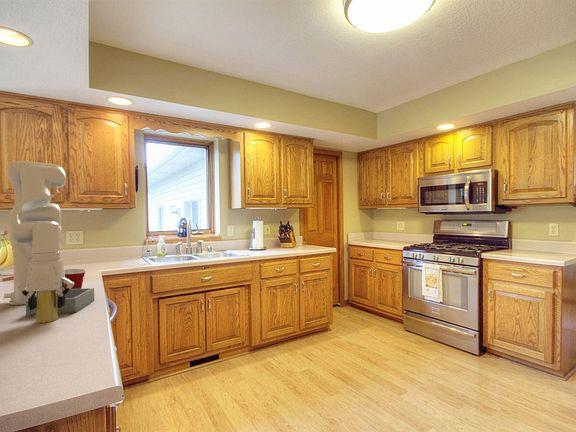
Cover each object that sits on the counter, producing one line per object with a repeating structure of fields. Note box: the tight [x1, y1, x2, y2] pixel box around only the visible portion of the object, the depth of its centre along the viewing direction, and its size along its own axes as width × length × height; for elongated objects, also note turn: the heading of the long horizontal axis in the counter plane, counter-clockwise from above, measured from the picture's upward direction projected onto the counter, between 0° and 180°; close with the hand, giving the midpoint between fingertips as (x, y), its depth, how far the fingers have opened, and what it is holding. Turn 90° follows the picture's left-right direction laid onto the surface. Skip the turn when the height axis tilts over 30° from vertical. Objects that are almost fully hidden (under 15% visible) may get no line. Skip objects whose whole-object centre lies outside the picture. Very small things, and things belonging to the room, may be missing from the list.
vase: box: [35, 291, 59, 324], centre depth 109 cm, size 6×6×14 cm
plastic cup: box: [63, 268, 87, 289], centre depth 143 cm, size 11×11×12 cm
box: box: [25, 287, 95, 317], centre depth 124 cm, size 16×18×6 cm
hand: (47, 307), depth 109 cm, fingers open, 7 cm apart
